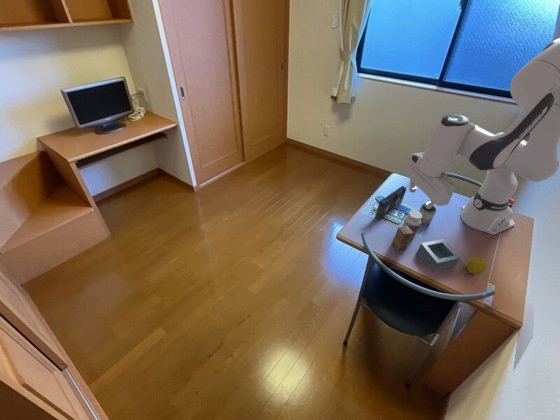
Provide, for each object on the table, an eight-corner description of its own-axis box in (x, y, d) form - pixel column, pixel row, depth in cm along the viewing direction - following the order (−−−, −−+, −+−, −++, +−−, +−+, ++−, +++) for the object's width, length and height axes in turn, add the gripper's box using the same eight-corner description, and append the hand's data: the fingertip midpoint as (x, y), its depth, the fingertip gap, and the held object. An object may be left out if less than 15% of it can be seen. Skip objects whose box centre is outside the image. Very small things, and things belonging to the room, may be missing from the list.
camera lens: (433, 223, 128) (440, 210, 123) (421, 225, 127) (427, 212, 121) (425, 214, 132) (431, 201, 127) (413, 216, 131) (418, 203, 126)
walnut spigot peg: (400, 242, 119) (407, 225, 112) (405, 249, 116) (413, 232, 109) (391, 244, 118) (398, 227, 112) (396, 251, 115) (404, 234, 109)
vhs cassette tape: (396, 201, 139) (402, 185, 133) (401, 204, 138) (408, 188, 131) (373, 217, 131) (378, 200, 124) (378, 221, 129) (384, 204, 122)
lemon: (462, 264, 110) (472, 251, 105) (478, 269, 109) (489, 255, 103) (463, 275, 106) (473, 262, 101) (480, 280, 105) (491, 267, 99)
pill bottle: (418, 235, 122) (427, 215, 115) (408, 240, 120) (417, 221, 112) (406, 226, 126) (414, 207, 119) (397, 232, 123) (404, 212, 116)
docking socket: (438, 247, 117) (443, 238, 114) (455, 266, 110) (460, 257, 106) (417, 251, 115) (421, 243, 112) (432, 271, 108) (437, 262, 105)
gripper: (465, 182, 85) (446, 217, 94) (424, 150, 100) (410, 182, 109) (447, 185, 84) (429, 219, 93) (408, 151, 99) (396, 184, 108)
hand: (419, 199), depth 101 cm, fingers open, 8 cm apart
